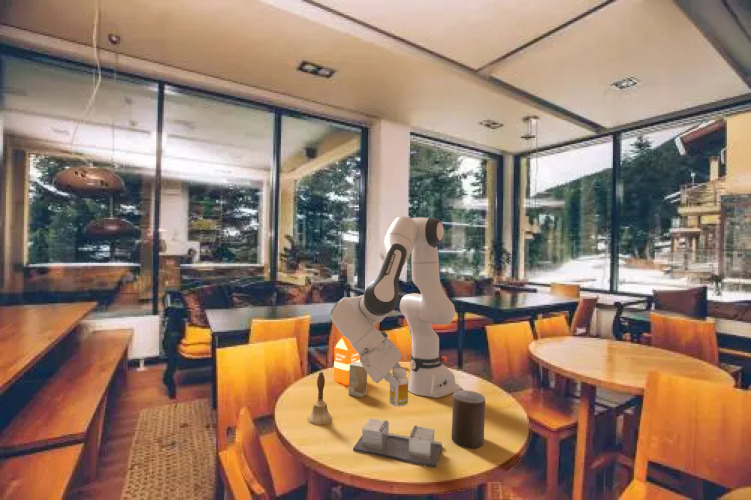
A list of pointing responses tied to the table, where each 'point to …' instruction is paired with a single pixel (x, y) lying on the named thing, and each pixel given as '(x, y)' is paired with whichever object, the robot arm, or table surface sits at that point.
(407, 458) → the rail plate
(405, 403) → the supplement bottle
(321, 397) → the hand bell
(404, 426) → the table surface
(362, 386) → the skincare box
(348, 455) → the table surface
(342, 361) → the orange juice
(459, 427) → the pillar candle
